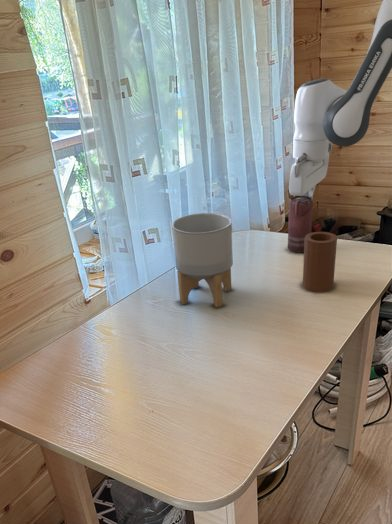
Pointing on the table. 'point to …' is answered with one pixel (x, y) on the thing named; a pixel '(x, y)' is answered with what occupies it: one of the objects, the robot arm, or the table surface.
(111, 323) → the table surface
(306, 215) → the can
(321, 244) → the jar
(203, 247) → the planter
